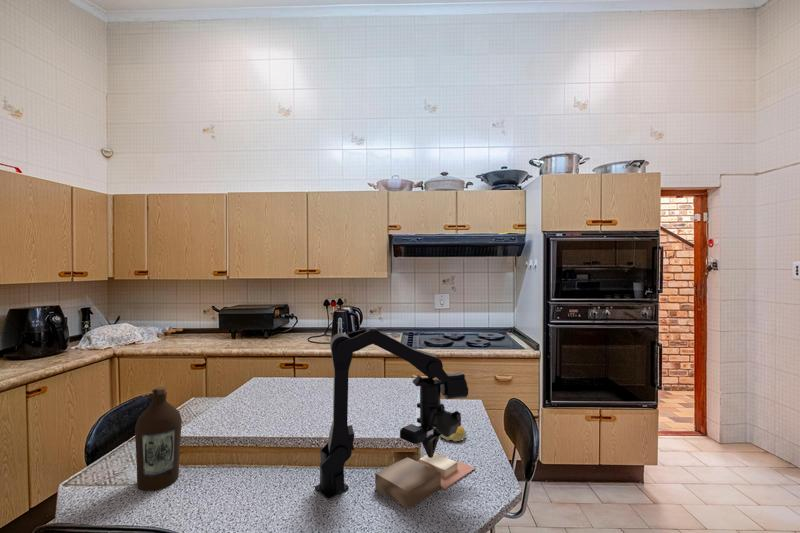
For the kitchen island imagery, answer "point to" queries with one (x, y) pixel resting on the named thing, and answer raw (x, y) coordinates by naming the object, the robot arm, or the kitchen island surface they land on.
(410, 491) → the panel
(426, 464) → the cream rectangular block
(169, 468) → the olive oil
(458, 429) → the bread roll
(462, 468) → the mat
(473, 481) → the kitchen island surface
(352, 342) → the robot arm
